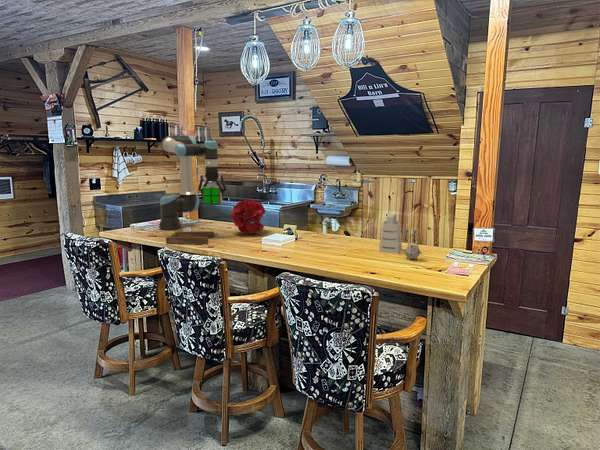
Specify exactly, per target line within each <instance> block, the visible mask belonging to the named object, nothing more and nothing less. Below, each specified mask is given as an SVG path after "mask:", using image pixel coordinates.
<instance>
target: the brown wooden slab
mask: <svg viewBox="0 0 600 450" xmlns="http://www.w3.org/2000/svg"><path fill="white" fill-rule="evenodd" d="M214 233H215V231H174V232H172V233H171V234H170V235H168V236H167V237H166V238H165V242H166V243H165V244H166V246H168V245H167V244H189V245H209V239H215V237H214Z"/></svg>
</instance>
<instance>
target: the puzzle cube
mask: <svg viewBox="0 0 600 450" xmlns="http://www.w3.org/2000/svg"><path fill="white" fill-rule="evenodd" d="M202 188H203V187H202ZM220 192H221V190H220V187H218V185H207V186H206V187H204V188H203V197H202V203H203V205H220V204H221V201H220Z"/></svg>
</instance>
